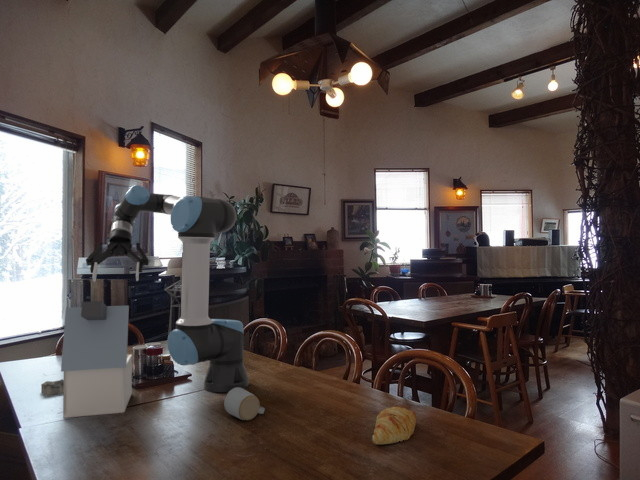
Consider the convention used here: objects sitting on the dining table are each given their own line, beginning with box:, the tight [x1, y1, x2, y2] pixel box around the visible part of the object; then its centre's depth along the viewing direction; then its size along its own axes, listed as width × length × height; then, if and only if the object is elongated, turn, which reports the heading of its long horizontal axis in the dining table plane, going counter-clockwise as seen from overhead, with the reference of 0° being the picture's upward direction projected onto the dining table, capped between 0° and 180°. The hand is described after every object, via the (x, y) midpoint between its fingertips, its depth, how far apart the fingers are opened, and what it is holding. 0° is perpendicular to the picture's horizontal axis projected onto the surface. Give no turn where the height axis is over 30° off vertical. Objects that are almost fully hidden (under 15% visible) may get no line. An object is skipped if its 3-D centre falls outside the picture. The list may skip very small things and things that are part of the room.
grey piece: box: [40, 378, 64, 397], centre depth 156 cm, size 11×8×4 cm
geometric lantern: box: [164, 278, 182, 337], centre depth 218 cm, size 16×16×35 cm
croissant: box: [371, 405, 417, 446], centre depth 118 cm, size 21×10×8 cm, turn 145°
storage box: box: [62, 354, 133, 418], centre depth 141 cm, size 18×16×13 cm
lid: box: [60, 300, 130, 373], centre depth 131 cm, size 18×17×10 cm
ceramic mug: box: [223, 387, 266, 421], centre depth 132 cm, size 11×8×8 cm
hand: (115, 278), depth 158 cm, fingers open, 13 cm apart
